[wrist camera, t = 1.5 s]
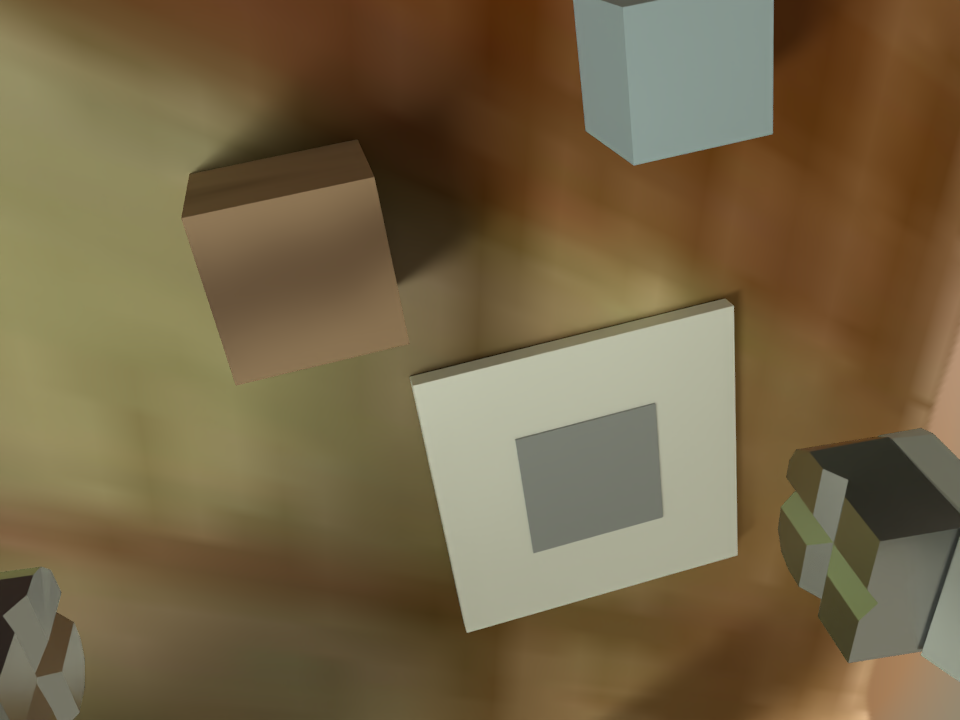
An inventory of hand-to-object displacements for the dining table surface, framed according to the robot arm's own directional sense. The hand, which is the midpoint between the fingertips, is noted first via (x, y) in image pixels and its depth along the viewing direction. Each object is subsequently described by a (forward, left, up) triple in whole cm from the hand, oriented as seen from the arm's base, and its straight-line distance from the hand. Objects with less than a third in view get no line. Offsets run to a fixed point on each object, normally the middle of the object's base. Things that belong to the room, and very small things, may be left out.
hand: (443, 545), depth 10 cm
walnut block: (-5, +2, -25) cm, 25 cm away
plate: (-19, -8, -25) cm, 32 cm away
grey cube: (-1, -12, -25) cm, 28 cm away
